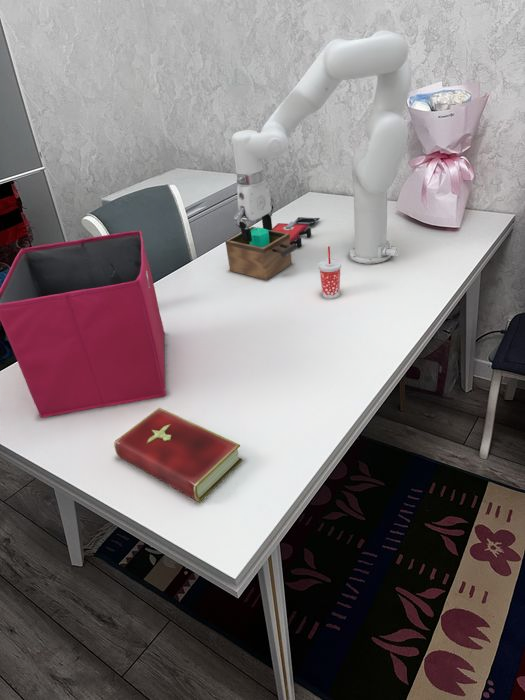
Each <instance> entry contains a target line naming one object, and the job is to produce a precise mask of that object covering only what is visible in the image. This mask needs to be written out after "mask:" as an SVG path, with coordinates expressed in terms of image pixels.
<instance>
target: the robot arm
mask: <svg viewBox="0 0 525 700" xmlns="http://www.w3.org/2000/svg"><path fill="white" fill-rule="evenodd" d="M408 55H409V45H408V42H407V41H406V39H405V37H404V36H403V35H401V34H399V33H397V32H393V31H390V30H385V29H383V30H382V29H381V30H378V31H376V32H374V33H373V34H372V35H371V36H369V37H364V38H359V39H358V38H357V39H350V40H349V39H348V40H347V39H344V38H335V39H333V40H331V41H330V42H328V43H327V44H326V45H325V47H324V48H323V49H322V50H321V52H320V53H319V55H318V56H317V57H316V59H314V61H313V62H312V64H311V65H310V67H309V68H307V69H308V70H306V72H305V73H304V75H303V76H302V77H301V79H300V80H299V81H298V83H297V84H296V85H295V86H294V87H293V89H292V90H291V91H290V92H289V93H288V95H287V96H286V97H285V98H284V99H283V101H282V102H281V103H280V104H279V105H278V107H276V109H275V110H274V111H273V112H272V114H271V115H270V117H269V118H268V120H267V121H266V122H265V124H264V125H263V127H262V128H261V130H260V132H258V131H257V130H253V129H245V130H244V129H243V130H239V131H236V132H234V133H233V134H232V137H231V143H232V144H231V145H232V151H233V158H234V159H233V160H234V165H235V172H236V183H237V189H236V190H237V191H236V194H237V195H236V196H237V197H236V198H237V199H236V200H237V209H238V210H237V212H236V213H235V215H234V216H233V221H234V223H235V225H236V226H237V227H238V228H239V229H240V231H241V232H242V239H243V241H247V242H251V241H252V236H251V229H250V226H251V223H252V222H255V221H257V220H259V219H261V222H262V228H264V229H267V230H272V229H273V223H272V222H273V221H272V216H273V210H274V203H275V198H273V197H271V194H270V189H269V185H268V182H267V179H266V178H265V175H264V167H263V159H265V160H266V159H272V160H275V159H280V158H283V156H285V155H286V153H287V152H288V151H289V147H290V146H289V145H290V144H289V143H290V142H289V137H290V136H291V135H292V134H293V132H294V131H295V130H296V128H298V126H299V125H300V124H301V123H302V122H303V121H304V120H305V119H306V118H307V117H309V116H310V115H312V114H314V113H316V112H318V111H319V110H320V109H321V108H322V107H323V106H324V104H325V103H326V102H327V101H328V99H329V98H330V97H331V95H332V94H333V93H334V92H335V90H336V89H337V88H338V87H339V86H340V85H341V83H342V82H343V81H348V80H358V79H363V78H368V77H373V76H374V77H375V76H377V82H376V88H375V93H374V97H373V100H372V104H371V107H370V111H369V114H368V118H367V121H366V123H365V130H364V131H365V136H366V138H367V139H368V140H369V142H368V145H367V148H366V147H365V148H363V149H361V150H360V151H359V152H358V153H357V154H356V155H355V156H354V158H353V161H352V164H351V177H352V187H353V220H354V221H353V226H354V227H353V229H354V247H353V248H352V249H351V250H350V251H349V258H350V260H352V261H353V262H356V263H359V264H365V265H366V264H367V265H369V264H370V265H372V264H379V263H384V262H385V261H388V260H389V259H391V258H392V257H395V258H396V257H398V254H399V251H398V250H399V249H398V247H397V246H391V241H390V240H387V239H388V238H387V236H388V233H387V232H388V228H387V227H388V190H389V189H390V187H391V186H392V185H393V183H394V181H395V179H396V177H397V175H398V171H399V169H400V165H401V162H402V159H403V155H404V152H405V151H406V150H405V149H406V146H407V143H408V137H409V128H408V124H407V122H406V120H405V119H404V118H403V116H404V111H405V109H406V105H407V101H408V96H409V92H410V89H411V82H412V69H411V63H410V59H409V56H408ZM241 232H240V233H241Z"/></svg>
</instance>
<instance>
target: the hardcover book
mask: <svg viewBox="0 0 525 700" xmlns="http://www.w3.org/2000/svg"><path fill="white" fill-rule="evenodd" d="M113 446H114V451H115V454H116V455H117V456H118V457H119V458H121V459H123V460H124V461H126V462H127V463H130V464H132V465H133V466H135V467H137V468H139V469H140V470H142V471H144V472H145V473H147V474H149V475H151V476H153V477H154V478H156V479H158V480H160V481H161V482H163V483H165V484H166V485H168V486H170V487H172V488H174V489H175V490H177V491H178V492H181V493H182V494H184V495H186V496H187V497H190V498H192V499H193V500H195V501H197V502H199V503H201V502H202V501H203V500H204V499H205V498H207V496H208V495H209V494H210V493H211V492H212V491H213V490H214V489H215V488H216V487H217V486H218V485H220V484H221V482H223V480H224V479H225V478H227V477H228V475H229V474H230V473H232V472H233V471H234V470H235V469H236V468H237V467H238V466H239V465H240V464H241V463H242V462H243V458H241V457H240V456H239V451H238V449H239V448H240V447H241V444H239V443H237V442H235V441H233V440H231V439H229V438H226V437H225V436H222V435H219V434H217V433H216V432H213V431H211V430H209V429H206V428H204V427H203V426H200V425H198V424H196V423H194V422H192V421H190V420H187V419H186V418H183V417H181V416H179V415H177V414H174V413H172V412H170V411H168V410H165V409H164V408H163V407H158V408H157V409H155V410H154V411H152V412H151V413H150V414H149V415H147V416H146V417H144V418H143V419H142V420H140V422H138V423H137V424H135V425H134V426H133V427H132V428H130V429H129V430H127V431H126V432H125V433H124V434H122V435H121V436H120V437H119V438H117V439H116V440H115V441H114V443H113Z"/></svg>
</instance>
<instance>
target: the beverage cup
mask: <svg viewBox="0 0 525 700" xmlns="http://www.w3.org/2000/svg"><path fill="white" fill-rule="evenodd" d="M327 256H328V259H326V260H322V261H320V262H319V263H318V264H317V266H318V267H317V268H318V270H319V276H320V277H319V278H320V284H321V292H322V297H323V298H325V299H330V300H331V299H336V298H338V297H340V288H341V268H342V262H340V261H339V260H337V259H331V246H327Z"/></svg>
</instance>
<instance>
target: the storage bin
mask: <svg viewBox="0 0 525 700" xmlns="http://www.w3.org/2000/svg"><path fill="white" fill-rule="evenodd" d="M143 239H144V237H143V233H142V231H141V230H134V231H133V230H132V231H131V230H130V231H124V232H117V233H112V234H111V233H110V234H104V235H99V236H92V237H87V238H82V239H75V240H70V241H61V242H56V243H50V244H41V245H36V246H31V247H23V248H20V250H19V252H18V253H17V255H16V256H15V258H14V260H13V262H12V264H11V267H10V268H9V271H8V272H7V274H6V276H5V279H4V281H3V283H2V284H1V287H0V322H1V326H2V327H3V329H4V330H3V331H4V332H5V334H6V337H7V339H8V342H9V345H10V347H11V349H12V351H13V354H14V356H15V359H16V361H17V363H18V366H19V369H20V371H21V373H22V376H23V378H24V381H25V383H26V386H27V389H28V391H29V393H30V397H31V398H32V400H33V403H34V405H35V408H36V410H37V411H38V414H39V415H38V416H39V418H40V419H41V418H48V417H53V416H58V415H64V414H70V413H74V412H79V411H81V412H82V411H86V410H92V409H97V408H104V407H110V406H116V405H123V404H130V403H135V402H140V401H141V402H142V401H146V400H151V399H158V398H163V397H165V396H167V391H166V369H165V368H166V367H165V338H166V333H165V330H164V325H163V320H162V317H161V313H160V308H159V303H158V297H157V294H156V289H155V284H154V281H153V276H152V272H151V271H152V270H151V267H150V264H149V261H148V258H147V257H148V256H147V253H146V248H145V243H144V240H143Z"/></svg>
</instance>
